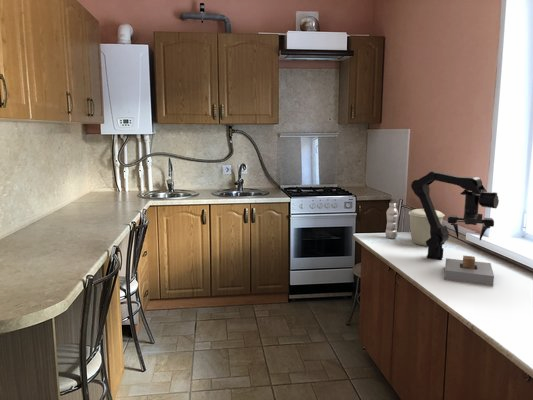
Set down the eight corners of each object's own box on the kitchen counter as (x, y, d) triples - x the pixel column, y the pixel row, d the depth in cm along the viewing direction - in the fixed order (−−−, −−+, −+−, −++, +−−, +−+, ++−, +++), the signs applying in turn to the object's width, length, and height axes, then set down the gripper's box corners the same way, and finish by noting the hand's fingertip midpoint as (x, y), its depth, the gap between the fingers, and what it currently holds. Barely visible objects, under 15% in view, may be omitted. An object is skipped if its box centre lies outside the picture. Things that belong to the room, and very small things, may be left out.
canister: (412, 237, 250) (415, 201, 246) (446, 242, 239) (449, 204, 236) (402, 244, 235) (404, 205, 232) (437, 250, 225) (440, 209, 221)
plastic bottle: (391, 240, 244) (392, 204, 241) (382, 237, 250) (384, 202, 247) (399, 238, 247) (401, 203, 244) (391, 236, 253) (393, 201, 250)
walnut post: (462, 276, 186) (463, 258, 184) (461, 273, 190) (463, 255, 188) (473, 278, 184) (475, 259, 183) (473, 274, 188) (474, 256, 187)
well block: (444, 279, 182) (445, 270, 181) (445, 266, 198) (445, 258, 198) (493, 285, 175) (494, 276, 174) (489, 271, 192) (490, 263, 191)
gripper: (448, 206, 193) (446, 241, 195) (496, 210, 186) (493, 246, 188) (449, 202, 203) (446, 235, 206) (494, 205, 196) (491, 239, 198)
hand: (468, 239), depth 199 cm, fingers open, 9 cm apart
